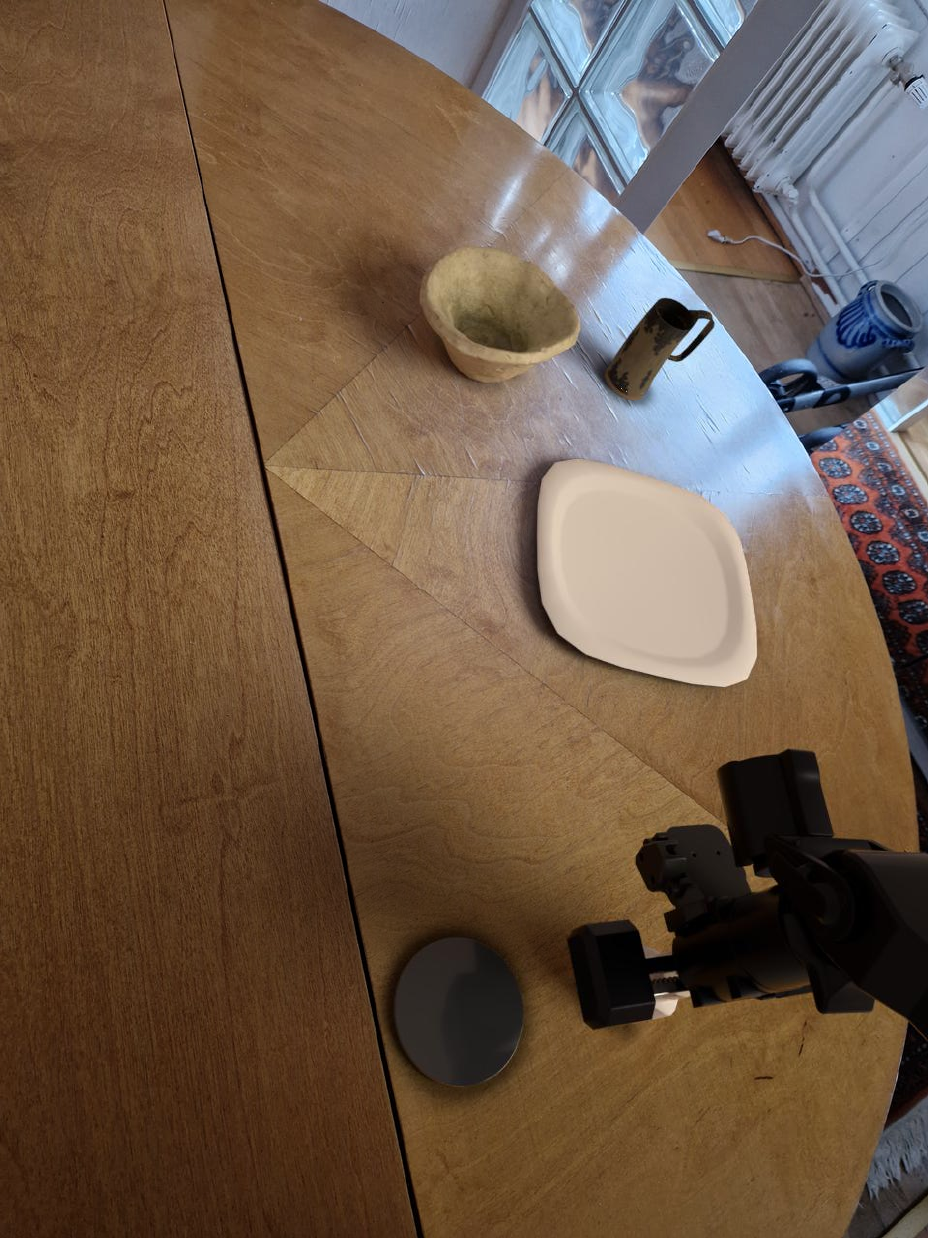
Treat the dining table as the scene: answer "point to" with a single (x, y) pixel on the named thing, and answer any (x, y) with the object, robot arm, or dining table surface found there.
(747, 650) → the plate
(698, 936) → the robot arm
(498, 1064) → the coaster
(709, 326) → the mug
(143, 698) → the dining table surface
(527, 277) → the bowl
